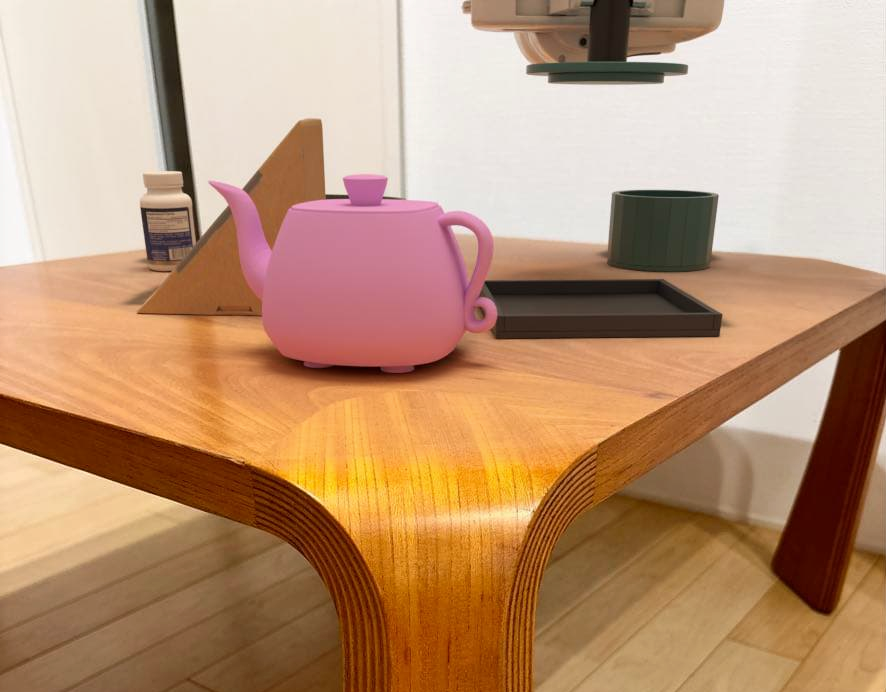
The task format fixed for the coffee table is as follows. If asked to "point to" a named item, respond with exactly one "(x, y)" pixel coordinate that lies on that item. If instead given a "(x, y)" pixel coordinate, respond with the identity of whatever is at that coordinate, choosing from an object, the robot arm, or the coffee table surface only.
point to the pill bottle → (166, 220)
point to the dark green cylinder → (662, 230)
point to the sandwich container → (216, 253)
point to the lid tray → (597, 309)
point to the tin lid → (607, 54)
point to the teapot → (364, 277)
